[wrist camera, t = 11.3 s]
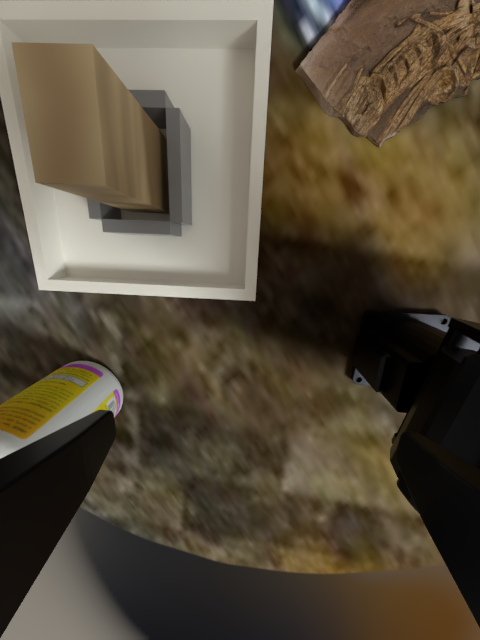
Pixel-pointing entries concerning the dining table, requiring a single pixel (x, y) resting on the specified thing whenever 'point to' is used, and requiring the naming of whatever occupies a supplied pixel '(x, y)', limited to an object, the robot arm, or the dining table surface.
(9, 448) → the supplement bottle
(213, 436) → the dining table surface
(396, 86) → the wooden fragment
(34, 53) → the pine wood block
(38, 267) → the ceramic dish
